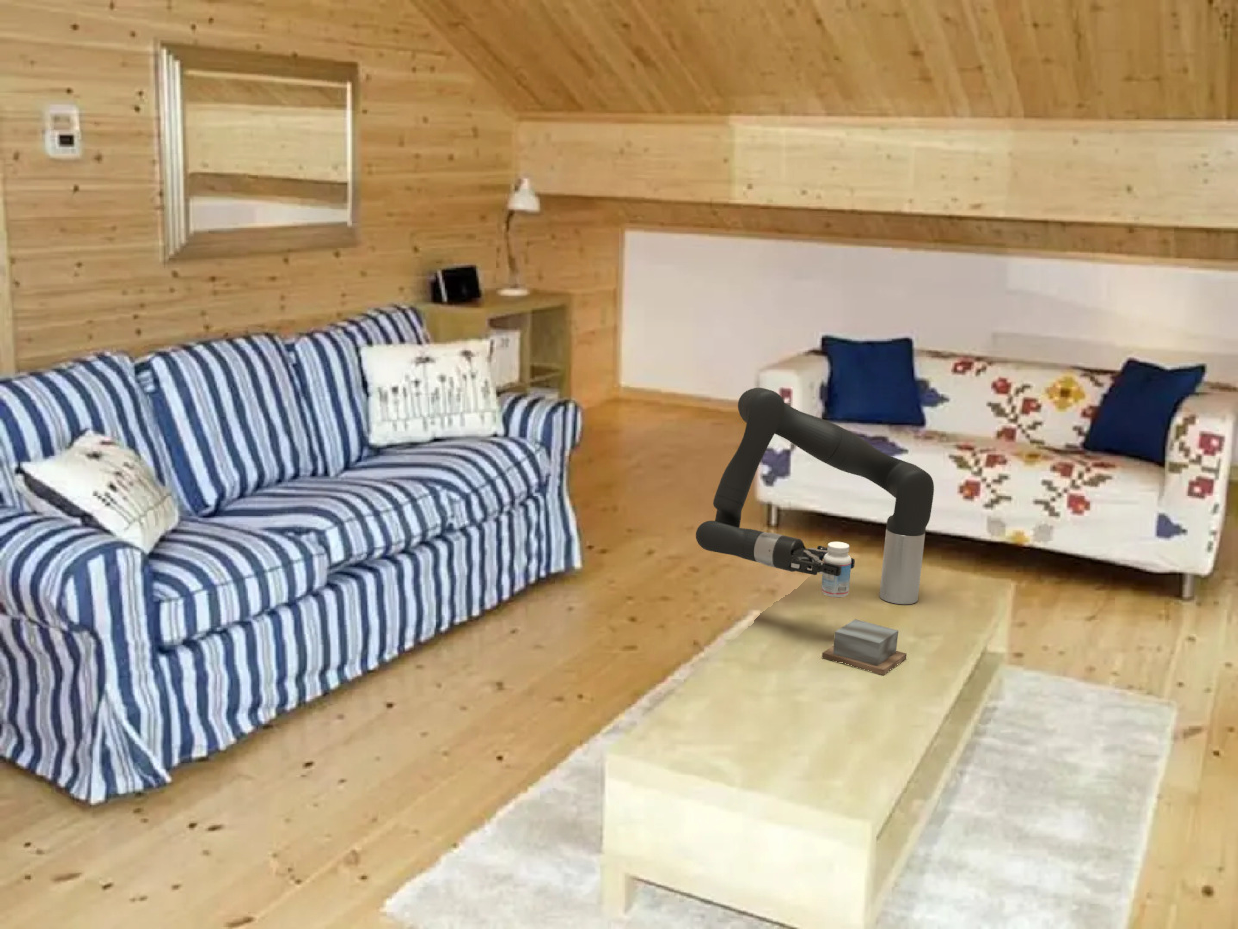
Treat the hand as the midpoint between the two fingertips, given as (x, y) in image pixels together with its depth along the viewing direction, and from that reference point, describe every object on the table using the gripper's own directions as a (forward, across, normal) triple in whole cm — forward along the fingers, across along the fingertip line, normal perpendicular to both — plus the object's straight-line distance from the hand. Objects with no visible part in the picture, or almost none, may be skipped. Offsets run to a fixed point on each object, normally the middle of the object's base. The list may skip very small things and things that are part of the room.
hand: (847, 567), depth 276 cm
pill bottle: (-2, 0, +7) cm, 7 cm away
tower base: (+9, -6, +17) cm, 20 cm away
